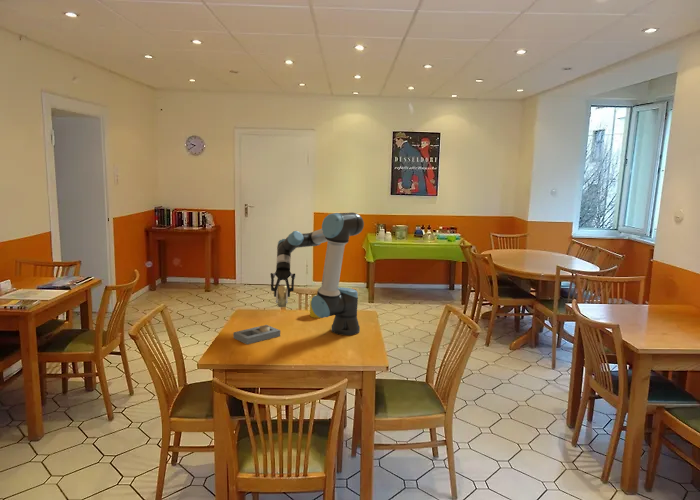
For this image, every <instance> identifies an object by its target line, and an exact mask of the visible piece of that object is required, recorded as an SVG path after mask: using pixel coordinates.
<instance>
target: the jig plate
mask: <svg viewBox="0 0 700 500" xmlns="http://www.w3.org/2000/svg"><path fill="white" fill-rule="evenodd" d="M266 325H267V326H270V325H269V324H266ZM260 326H261V325H260ZM260 326H255V327H251V328H246V329H242V330H237V331H234V332H233V334H232V335H233V339H234V340H236V341H239V342H241V343H243V344H245V345H250V344H255V343H259V342H263V341H267V340H270V339H273V338H278V337H281V330H280V329H278V328H276V327H274V326H270V331H267V332H261V331H259V327H260Z"/></svg>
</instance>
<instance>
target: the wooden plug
mask: <svg viewBox="0 0 700 500" xmlns="http://www.w3.org/2000/svg"><path fill="white" fill-rule="evenodd" d="M267 325H268V324H264V325H260V327H259V326H258V327H259V331H261V332H267V331H270V325H268V326H267Z"/></svg>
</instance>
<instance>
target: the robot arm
mask: <svg viewBox="0 0 700 500" xmlns="http://www.w3.org/2000/svg"><path fill="white" fill-rule="evenodd" d="M364 228H365V222H364V219H363V217H362V216H361V215H360V214H359V213H358V212H357V213H356V212H333V213H329V214H327V216H325V217H324V218H323V220H322V224H321V228H320V229H317V230H314V231H312V232H306V233H302V232H300V231H297V230H294V231H292V232H291V233H290V234H288V236H287V237H286V238H282V239H279V240H278V242H277V246H276V248H277V249H276V250H277V251H276V267H275V270H276V271H275V272H274V273H273V272H271V273H270V278H271V280H270V281H271V282H270V283H271V284H270V291H271V292H273V297H274V298H275V304H278V285H280V283H281V281H285V285H286V286H287V289H286V304H288V301H289V300H288V299H289V298H290V297H291V292H294V290H295V289H294V285H295V278H296V273H292V272H291V259H292V258H291V256H292V255H291V254H292V252H294V251H295V250H296V249H297V248H298V249H299V248H308V247H317V246H320V245H321V244H322V243H327V245H326V251H325V258H324V266H323V273H322V280H321V285H320V287H319V288H318V289H317V291H316V292H317V293H316V294H315V295H314V296H313V297H311V299H312V300H311V306H312V310H313V312H314V313H315V314H316V315H317V316H318V317H321V318H320V319H322V318H323V317H324V318H329V317H333V316H334V319H333V322H332V324H331V328H330V330H331V332H332V333H333V334H336V335H341V336H352V335H357V334H359V333H360V329H361V328H360V325H359V319H358V299H359V297H358V296H359V293H358V291H357V290H356V289H354V288H351V287H350V288H349V287H344V286H343V287H342V286H341V287H339V283H340V277H341V271H342V265H343V260H344V252H345V247H346V245H347V244H348V243H349V241H350V237H354V236H357V235H359V234H360V233H362V231H363V229H364ZM275 277H277V280H276V281H275V279H274V278H275ZM289 278H291V286H290V283H289ZM274 281H275V282H274ZM274 283H275V284H274Z"/></svg>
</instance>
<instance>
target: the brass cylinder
mask: <svg viewBox="0 0 700 500" xmlns="http://www.w3.org/2000/svg"><path fill="white" fill-rule="evenodd" d="M277 290H278V303H277V307H278V308H286V307H287V303H286V290H287V286H286V284H279V285H278V289H277Z"/></svg>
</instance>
